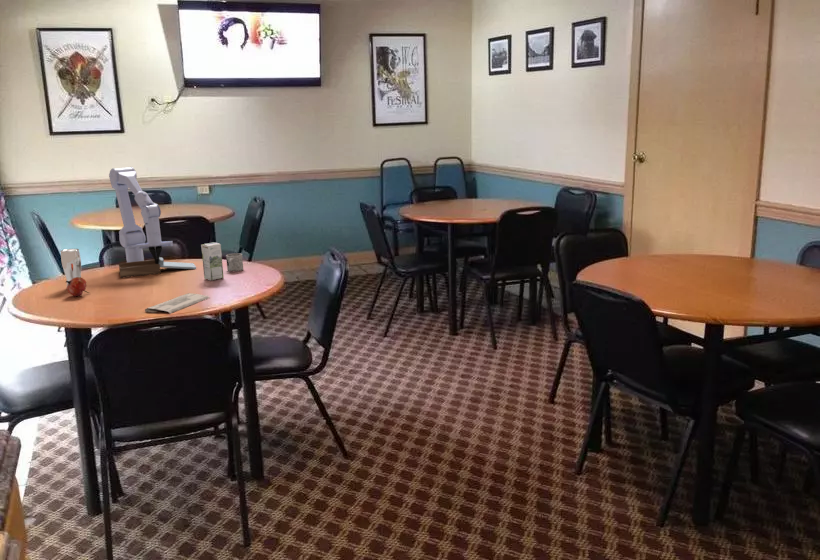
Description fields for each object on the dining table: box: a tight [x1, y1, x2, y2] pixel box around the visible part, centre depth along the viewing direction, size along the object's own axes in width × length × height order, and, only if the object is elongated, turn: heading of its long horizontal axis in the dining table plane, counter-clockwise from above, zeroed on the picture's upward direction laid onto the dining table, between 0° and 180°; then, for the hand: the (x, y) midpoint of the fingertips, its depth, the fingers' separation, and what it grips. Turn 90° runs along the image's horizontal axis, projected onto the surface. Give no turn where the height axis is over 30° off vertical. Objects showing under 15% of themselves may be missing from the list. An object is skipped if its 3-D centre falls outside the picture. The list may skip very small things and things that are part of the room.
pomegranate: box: [65, 276, 90, 297], centre depth 268 cm, size 7×7×10 cm
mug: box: [225, 252, 244, 272], centre depth 302 cm, size 10×7×7 cm
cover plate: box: [159, 257, 197, 270], centre depth 311 cm, size 11×15×3 cm
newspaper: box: [144, 292, 210, 315], centre depth 249 cm, size 23×12×2 cm, turn 159°
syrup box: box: [200, 242, 224, 281], centre depth 286 cm, size 6×6×14 cm
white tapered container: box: [60, 248, 82, 286], centre depth 282 cm, size 7×7×15 cm
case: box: [118, 259, 161, 279], centre depth 306 cm, size 13×16×4 cm
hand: (157, 263), depth 308 cm, fingers closed
